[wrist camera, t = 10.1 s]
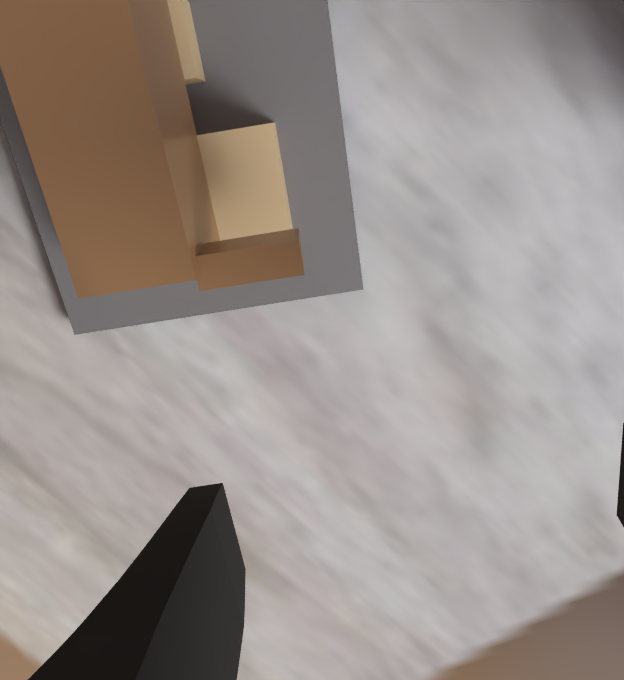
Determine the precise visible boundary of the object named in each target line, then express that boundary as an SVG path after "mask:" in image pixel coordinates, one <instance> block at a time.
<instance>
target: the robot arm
mask: <svg viewBox="0 0 624 680" xmlns="http://www.w3.org/2000/svg"><path fill="white" fill-rule="evenodd" d="M617 516H618V518H619V520H620V521H621V523H622V525H623V527H624V423H623V436H622V450H621V464H620V477H619V491H618V505H617ZM244 610H245V566H244V562H243V558H242V554H241V551H240V547H239V543H238V539H237V535H236V532H235V528H234V524H233V520H232V517H231V513H230V509H229V505H228V501H227V498H226V494H225V490H224V486H223V483H219V484H213V485H206V486H199V487H193V488H189V489H188V491H187V492H186V493H185V495H184V496H183V497H182V498H181V500H180V501H179V502H178V504H177V505H176V506H175V508H174V509H173V510H172V512H171V513H170V514H169V516H168V517H167V518H166V520H165V521H164V522H163V524H162V525H161V526H160V528H159V529H158V530H157V532H156V533H155V534H154V536H153V537H152V538H151V540H150V541H149V542H148V544H147V545H146V546H145V547H144V549H143V550H142V551H141V553H140V554H139V555H138V556H137V558H136V559H135V560H134V561H133V563H132V564H131V565H130V567H129V568H128V569H127V570H126V572H125V573H124V574H123V575H122V577H121V578H120V579H119V580H118V582H117V583H116V584H115V585H114V586H113V588H112V589H111V590H110V591H109V592H108V593H107V595H106V596H105V597H104V598H103V599H102V600H101V602H100V603H99V604H98V605H97V606H96V607H95V609H94V610H93V611H92V612H91V613H90V614H89V616H88V617H87V618H86V619H85V620H84V621H83V623H82V624H81V625H80V626H79V627H78V628H77V629H76V630H75V632H74V633H73V634H72V635H71V636H70V637H69V638H68V639H67V640H66V641H65V642H64V643H63V644H62V645H61V647H60V648H59V649H58V650H57V651H56V652H55V653H54V654H53V655H52V656H51V657H50V658H49V659H48V660H47V661H46V662H45V663H44V664H43V665H42V666H41V667H40V668H39V669H38V670H37V671H36V672H35V673H34V674H33V675H32V676H31V677H30V678H29V679H28V680H237V673H238V665H239V658H240V651H241V644H242V636H243V629H244Z"/></svg>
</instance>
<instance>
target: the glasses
mask: <svg viewBox="0 0 624 680" xmlns="http://www.w3.org/2000/svg"><path fill="white" fill-rule="evenodd" d="M0 66H1V69H2V72H3V75H4V78H5V81H6V84H7V87H8V90H9V93H10V96H11V99H12V102H13V105H14V108H15V111H16V114H17V117H18V120H19V123H20V126H21V129H22V132H23V135H24V138H25V141H26V144H27V147H28V150H29V153H30V156H31V159H32V162H33V165H34V168H35V171H36V174H37V177H38V180H39V183H40V186H41V189H42V192H43V194H44V197H45V200H46V203H47V206H48V209H49V212H50V215H51V218H52V221H53V224H54V227H55V230H56V233H57V236H58V239H59V242H60V245H61V248H62V251H63V254H64V257H65V260H66V263H67V266H68V269H69V272H70V275H71V278H72V281H73V284H74V287H75V290H76V293H77V296H78V299H80V298H86V297H92V296H99V295H105V294H111V293H117V292H124V291H130V290H136V289H142V288H149V287H155V286H161V285H167V284H174V283H180V282H186V281H192V280H197V281H198V285H199V290H200V291H206V290H212V289H218V288H225V287H231V286H237V285H243V284H250V283H256V282H262V281H269V280H275V279H281V278H287V277H294V276H300V275H305V271H304V258H303V252H302V246H301V240H300V234H299V228H295V229H289V230H283V231H277V232H271V233H264V234H258V235H252V236H246V237H240V238H234V239H227V240H221V241H220V238H219V233H218V229H217V224H216V220H215V215H214V211H213V206H212V202H211V197H210V193H209V188H208V184H207V179H206V175H205V170H204V166H203V161H202V157H201V152H200V148H199V143H198V138H197V134H196V129H195V125H194V120H193V116H192V111H191V107H190V102H189V98H188V93H187V89H186V84H185V80H184V75H183V71H182V66H181V62H180V57H179V53H178V48H177V44H176V39H175V35H174V30H173V26H172V21H171V16H170V12H169V7H168V3H167V0H0Z"/></svg>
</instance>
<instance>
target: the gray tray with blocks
mask: <svg viewBox="0 0 624 680" xmlns="http://www.w3.org/2000/svg"><path fill="white" fill-rule="evenodd" d="M167 3H168V7H169V12H170V16H171V21H172V26H173V30H174V35H175V39H176V44H177V48H178V53H179V57H180V62H181V66H182V71H183V75H184V80H185V84H186V89H187V93H188V98H189V102H190V107H191V111H192V116H193V120H194V125H195V129H196V134H197V138H198V143H199V148H200V152H201V157H202V161H203V166H204V170H205V175H206V179H207V184H208V188H209V193H210V197H211V202H212V206H213V211H214V215H215V220H216V224H217V229H218V233H219V238H220V241H221V240H227V239H234V238H240V237H246V236H252V235H258V234H264V233H271V232H277V231H283V230H289V229H295V228H299V234H300V240H301V246H302V252H303V258H304V271H305V275H300V276H294V277H287V278H281V279H275V280H269V281H262V282H256V283H250V284H243V285H237V286H231V287H225V288H218V289H212V290H206V291H200V290H199V285H198V281H197V280H192V281H186V282H180V283H174V284H167V285H161V286H155V287H149V288H142V289H136V290H130V291H124V292H117V293H111V294H105V295H99V296H92V297H86V298H80V299H78V296H77V293H76V290H75V287H74V284H73V281H72V278H71V275H70V272H69V269H68V266H67V263H66V260H65V257H64V254H63V251H62V248H61V245H60V242H59V239H58V236H57V233H56V230H55V227H54V224H53V221H52V218H51V215H50V212H49V209H48V206H47V203H46V200H45V197H44V194H43V192H42V189H41V186H40V183H39V180H38V177H37V174H36V171H35V168H34V165H33V162H32V159H31V156H30V153H29V150H28V147H27V144H26V141H25V138H24V135H23V132H22V129H21V126H20V123H19V120H18V117H17V114H16V111H15V108H14V105H13V102H12V99H11V96H10V93H9V90H8V87H7V84H6V81H5V78H4V75H3V72H2V69H1V66H0V121H1V123H2V126H3V129H4V132H5V135H6V138H7V141H8V144H9V146H10V149H11V152H12V155H13V158H14V161H15V164H16V167H17V170H18V172H19V175H20V178H21V181H22V184H23V187H24V190H25V193H26V195H27V198H28V201H29V204H30V207H31V210H32V213H33V216H34V219H35V221H36V224H37V227H38V230H39V233H40V236H41V239H42V242H43V245H44V247H45V250H46V253H47V256H48V259H49V262H50V265H51V268H52V270H53V273H54V276H55V279H56V282H57V285H58V288H59V291H60V294H61V296H62V299H63V302H64V305H65V308H66V311H67V314H68V317H69V319H70V322H71V325H72V328H73V331H74V334H75V335H76V334H82V333H88V332H95V331H101V330H107V329H114V328H120V327H126V326H133V325H139V324H145V323H152V322H158V321H165V320H171V319H177V318H184V317H190V316H196V315H203V314H209V313H215V312H222V311H228V310H234V309H241V308H247V307H254V306H260V305H266V304H273V303H279V302H285V301H292V300H298V299H304V298H311V297H317V296H323V295H330V294H336V293H343V292H349V291H355V290H362V289H363V284H362V276H361V268H360V260H359V252H358V244H357V235H356V227H355V219H354V211H353V203H352V195H351V187H350V179H349V171H348V163H347V155H346V147H345V139H344V131H343V123H342V115H341V106H340V98H339V90H338V82H337V74H336V66H335V58H334V50H333V42H332V34H331V26H330V18H329V10H328V2H327V0H167Z"/></svg>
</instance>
